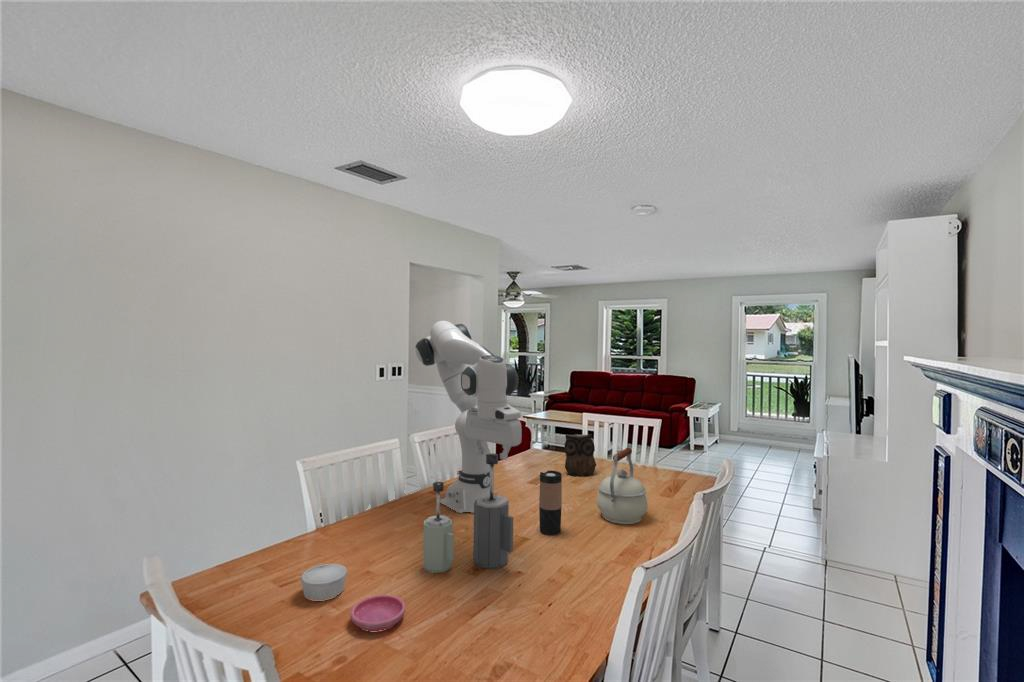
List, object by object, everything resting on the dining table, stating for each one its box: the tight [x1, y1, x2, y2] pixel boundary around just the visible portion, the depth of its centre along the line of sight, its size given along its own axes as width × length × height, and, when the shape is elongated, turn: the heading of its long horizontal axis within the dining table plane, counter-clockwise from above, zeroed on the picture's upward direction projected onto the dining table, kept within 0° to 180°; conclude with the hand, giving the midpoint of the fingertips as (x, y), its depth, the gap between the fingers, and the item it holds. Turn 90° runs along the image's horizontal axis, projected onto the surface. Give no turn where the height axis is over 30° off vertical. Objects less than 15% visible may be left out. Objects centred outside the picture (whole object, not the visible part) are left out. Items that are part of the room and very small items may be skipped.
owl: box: [564, 433, 597, 478], centre depth 240 cm, size 13×13×20 cm
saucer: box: [350, 594, 406, 631], centre depth 116 cm, size 12×12×3 cm
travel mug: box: [538, 470, 563, 536], centre depth 170 cm, size 8×8×20 cm
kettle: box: [596, 447, 648, 525], centre depth 185 cm, size 25×18×25 cm
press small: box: [422, 514, 455, 574], centre depth 142 cm, size 10×8×14 cm
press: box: [472, 494, 514, 570], centre depth 146 cm, size 13×11×18 cm
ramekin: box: [300, 563, 348, 600], centre depth 128 cm, size 11×11×5 cm
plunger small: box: [432, 481, 445, 518], centre depth 143 cm, size 3×3×10 cm
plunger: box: [486, 452, 499, 500], centre depth 147 cm, size 4×4×13 cm
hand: (491, 456), depth 147 cm, fingers open, 8 cm apart
